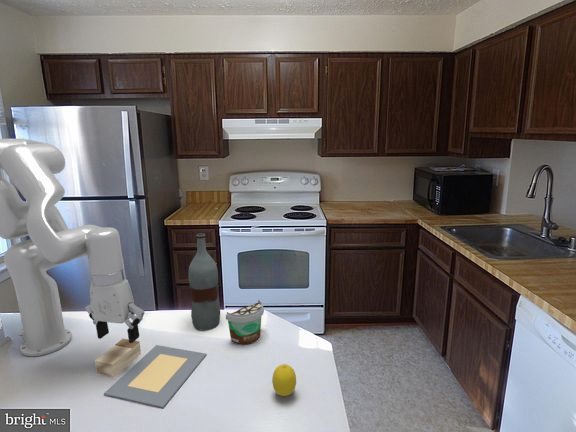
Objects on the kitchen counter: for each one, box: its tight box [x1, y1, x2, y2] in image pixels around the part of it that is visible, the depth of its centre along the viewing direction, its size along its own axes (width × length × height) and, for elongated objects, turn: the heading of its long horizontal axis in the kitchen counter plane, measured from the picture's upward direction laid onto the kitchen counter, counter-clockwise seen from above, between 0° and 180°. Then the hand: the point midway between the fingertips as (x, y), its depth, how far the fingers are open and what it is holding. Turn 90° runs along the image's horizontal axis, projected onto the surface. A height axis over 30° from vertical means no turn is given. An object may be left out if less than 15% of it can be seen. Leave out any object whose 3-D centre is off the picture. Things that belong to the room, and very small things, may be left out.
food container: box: [225, 299, 265, 346], centre depth 102 cm, size 12×6×10 cm, turn 131°
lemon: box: [271, 363, 297, 397], centre depth 81 cm, size 6×6×8 cm
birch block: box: [94, 338, 142, 378], centre depth 93 cm, size 6×10×4 cm, turn 164°
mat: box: [103, 344, 208, 410], centre depth 89 cm, size 16×20×1 cm
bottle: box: [187, 233, 221, 331], centre depth 109 cm, size 9×9×30 cm
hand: (118, 337), depth 91 cm, fingers open, 9 cm apart
